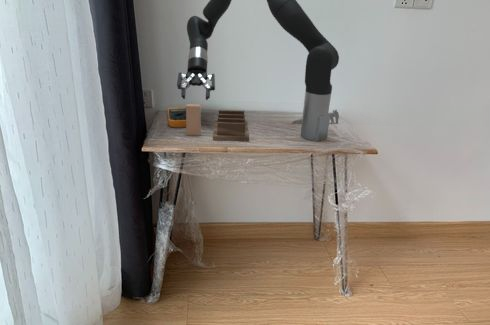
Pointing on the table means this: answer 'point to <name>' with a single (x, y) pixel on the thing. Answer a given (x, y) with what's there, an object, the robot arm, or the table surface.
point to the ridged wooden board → (231, 126)
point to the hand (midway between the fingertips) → (195, 98)
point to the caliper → (334, 114)
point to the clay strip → (193, 119)
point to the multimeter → (177, 117)
